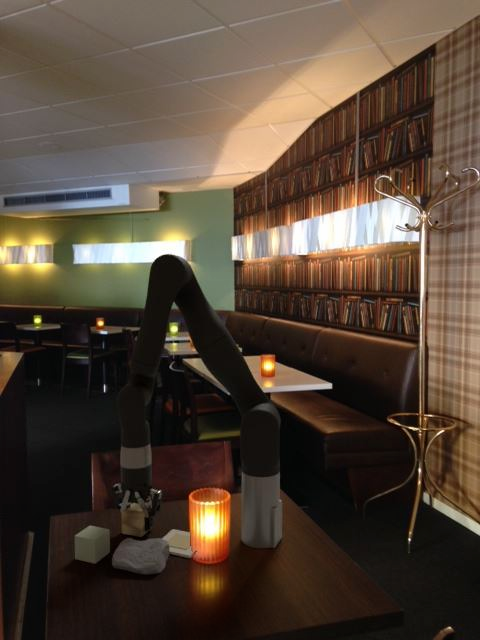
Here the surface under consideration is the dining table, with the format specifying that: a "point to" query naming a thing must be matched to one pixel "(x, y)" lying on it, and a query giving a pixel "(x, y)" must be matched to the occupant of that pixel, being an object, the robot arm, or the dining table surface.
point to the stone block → (141, 555)
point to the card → (179, 543)
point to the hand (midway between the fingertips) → (137, 527)
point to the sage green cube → (92, 544)
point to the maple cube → (133, 521)
